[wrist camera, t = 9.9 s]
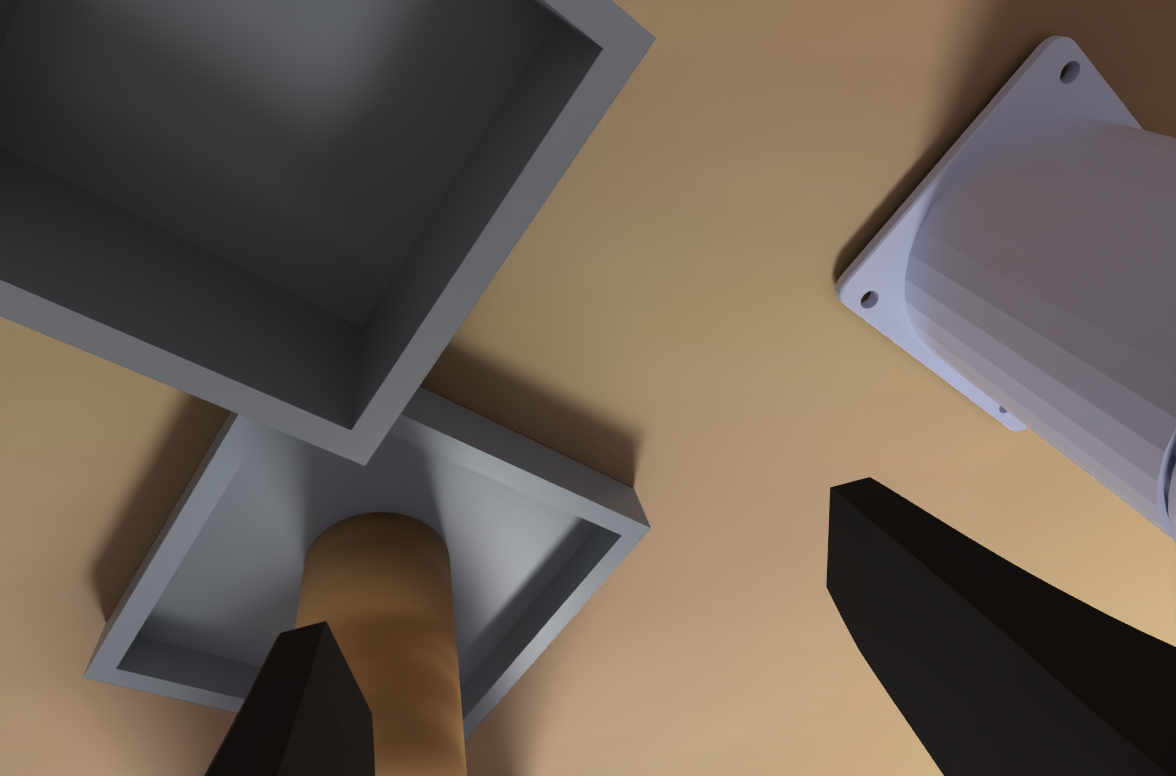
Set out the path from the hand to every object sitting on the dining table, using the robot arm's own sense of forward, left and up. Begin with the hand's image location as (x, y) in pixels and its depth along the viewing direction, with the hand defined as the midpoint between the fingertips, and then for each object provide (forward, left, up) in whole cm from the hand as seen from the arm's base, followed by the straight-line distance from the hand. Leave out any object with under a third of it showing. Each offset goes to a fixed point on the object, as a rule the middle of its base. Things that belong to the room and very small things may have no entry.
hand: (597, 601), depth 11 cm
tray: (-1, +9, -10) cm, 13 cm away
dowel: (-1, +8, -9) cm, 13 cm away
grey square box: (+7, -2, -10) cm, 12 cm away
